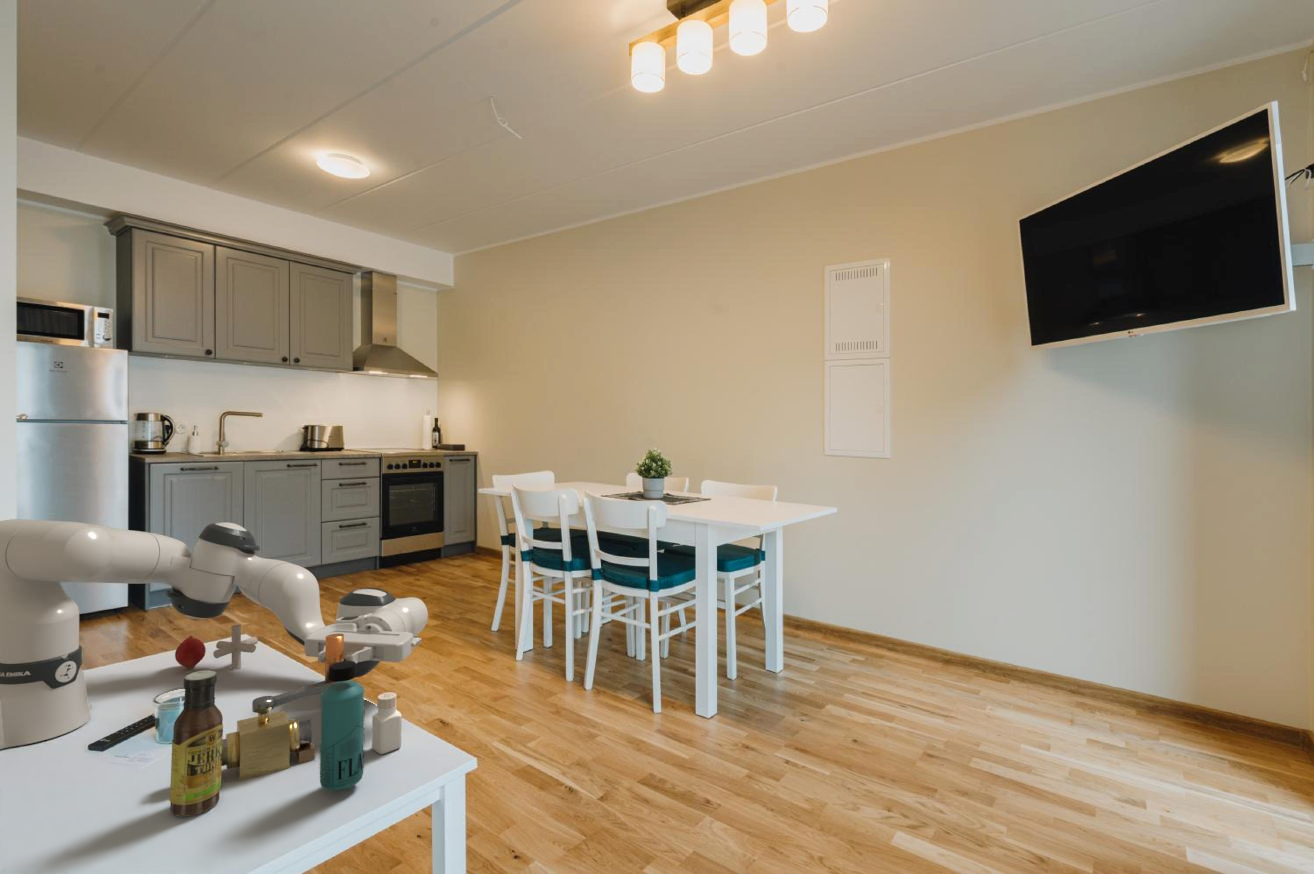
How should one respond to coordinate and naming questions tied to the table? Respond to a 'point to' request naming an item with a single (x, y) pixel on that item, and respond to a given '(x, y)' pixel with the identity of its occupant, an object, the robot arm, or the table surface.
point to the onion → (190, 652)
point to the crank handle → (332, 655)
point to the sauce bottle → (197, 748)
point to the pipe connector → (235, 647)
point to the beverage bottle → (342, 728)
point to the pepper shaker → (386, 724)
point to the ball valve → (267, 744)
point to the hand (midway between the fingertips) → (335, 659)
